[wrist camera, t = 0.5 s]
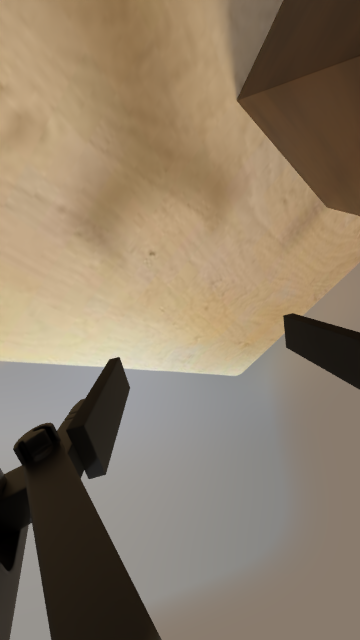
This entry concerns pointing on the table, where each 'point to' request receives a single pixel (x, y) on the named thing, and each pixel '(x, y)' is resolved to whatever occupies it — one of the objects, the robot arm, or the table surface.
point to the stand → (312, 95)
